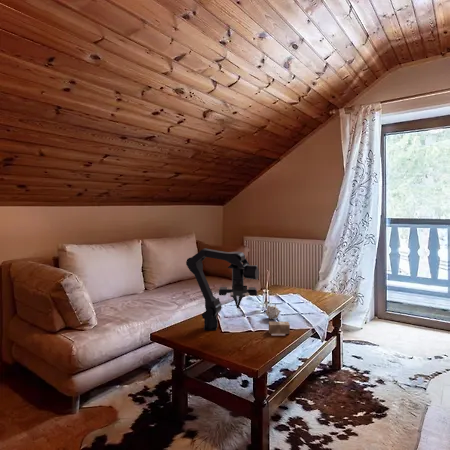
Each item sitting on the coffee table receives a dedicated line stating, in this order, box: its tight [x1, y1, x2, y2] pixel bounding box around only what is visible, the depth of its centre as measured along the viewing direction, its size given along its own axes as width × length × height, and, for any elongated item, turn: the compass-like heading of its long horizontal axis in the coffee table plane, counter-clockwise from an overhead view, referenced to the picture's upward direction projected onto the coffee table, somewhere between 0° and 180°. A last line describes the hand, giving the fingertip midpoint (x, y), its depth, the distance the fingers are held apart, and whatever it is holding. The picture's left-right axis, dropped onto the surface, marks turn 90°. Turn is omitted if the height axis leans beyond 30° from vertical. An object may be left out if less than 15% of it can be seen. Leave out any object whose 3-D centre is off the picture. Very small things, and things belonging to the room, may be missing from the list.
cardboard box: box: [268, 321, 291, 335], centre depth 178 cm, size 5×4×10 cm
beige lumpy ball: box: [265, 303, 282, 321], centre depth 197 cm, size 9×8×10 cm
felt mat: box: [270, 334, 287, 336], centre depth 179 cm, size 7×7×1 cm
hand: (237, 307), depth 177 cm, fingers closed
